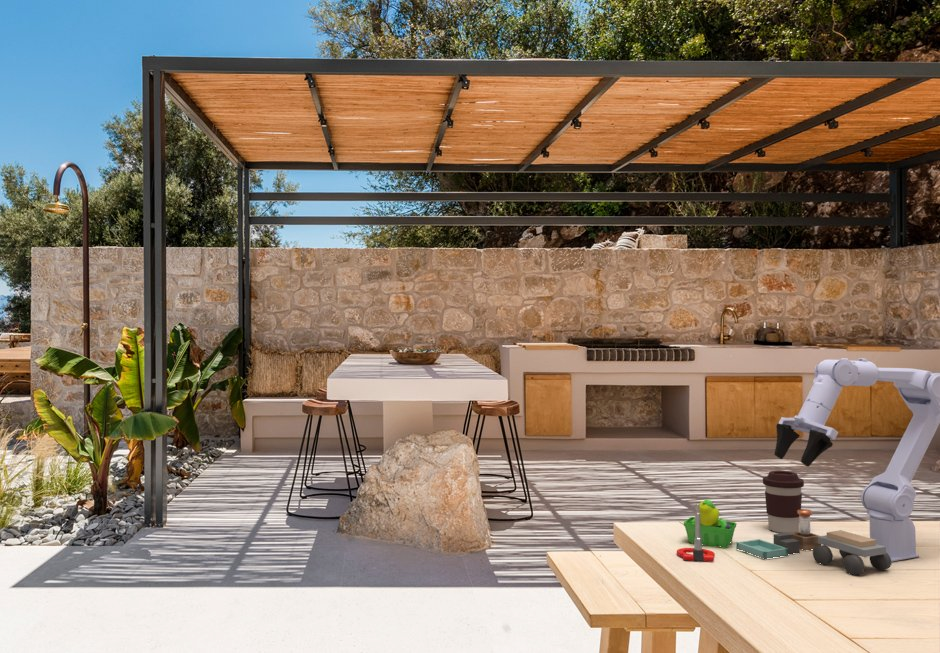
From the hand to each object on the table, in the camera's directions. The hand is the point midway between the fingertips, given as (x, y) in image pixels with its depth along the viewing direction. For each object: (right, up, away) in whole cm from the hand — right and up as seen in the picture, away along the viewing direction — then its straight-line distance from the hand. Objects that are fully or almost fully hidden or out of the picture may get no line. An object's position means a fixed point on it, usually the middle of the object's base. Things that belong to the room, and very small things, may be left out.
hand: (791, 460), depth 167 cm
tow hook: (-19, -24, +8) cm, 31 cm away
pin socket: (+9, -23, +14) cm, 29 cm away
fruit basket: (-12, -24, +18) cm, 32 cm away
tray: (-3, -23, +10) cm, 25 cm away
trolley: (+13, -23, -1) cm, 26 cm away
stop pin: (+9, -23, +14) cm, 29 cm away
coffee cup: (+11, -24, +30) cm, 40 cm away
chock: (+3, -23, +10) cm, 26 cm away
